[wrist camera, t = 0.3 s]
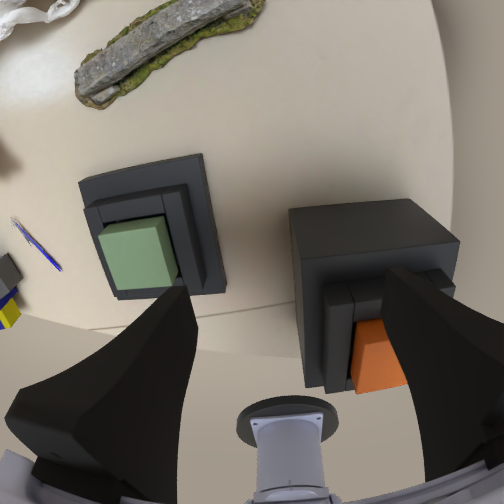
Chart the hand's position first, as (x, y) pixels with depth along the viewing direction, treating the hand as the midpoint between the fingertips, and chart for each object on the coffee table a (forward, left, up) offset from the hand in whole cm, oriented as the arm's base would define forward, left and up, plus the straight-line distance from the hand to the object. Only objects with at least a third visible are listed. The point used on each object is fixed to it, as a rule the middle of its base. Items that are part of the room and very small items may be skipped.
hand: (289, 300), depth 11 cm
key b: (-1, +9, -8) cm, 12 cm away
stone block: (+12, +6, -11) cm, 17 cm away
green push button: (-1, +9, -11) cm, 14 cm away
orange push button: (-6, -5, -11) cm, 13 cm away
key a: (-6, -5, -2) cm, 8 cm away
